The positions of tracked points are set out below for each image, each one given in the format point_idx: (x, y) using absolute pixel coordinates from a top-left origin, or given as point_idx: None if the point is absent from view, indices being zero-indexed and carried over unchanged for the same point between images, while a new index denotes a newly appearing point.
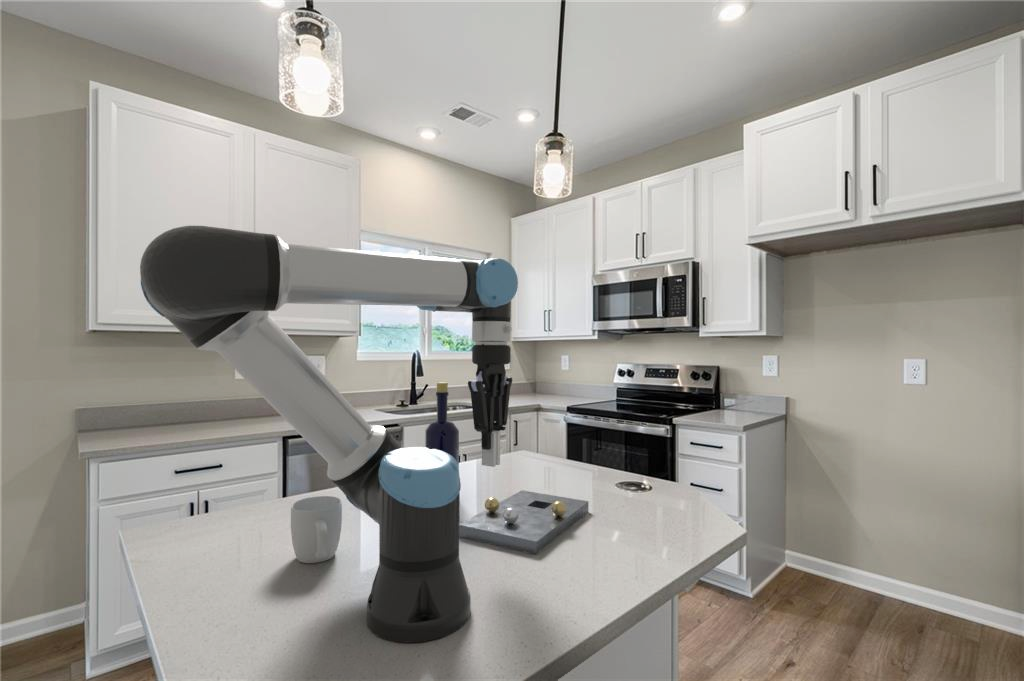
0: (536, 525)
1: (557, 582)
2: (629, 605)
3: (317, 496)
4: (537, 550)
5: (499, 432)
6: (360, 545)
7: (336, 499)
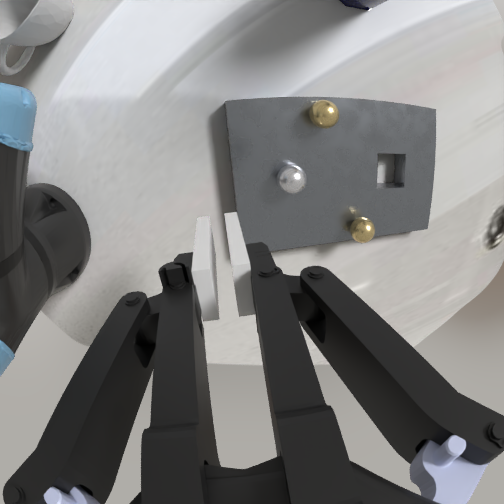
0: (302, 218)
1: None
2: None
3: None
4: None
5: (248, 312)
6: (105, 19)
7: None
